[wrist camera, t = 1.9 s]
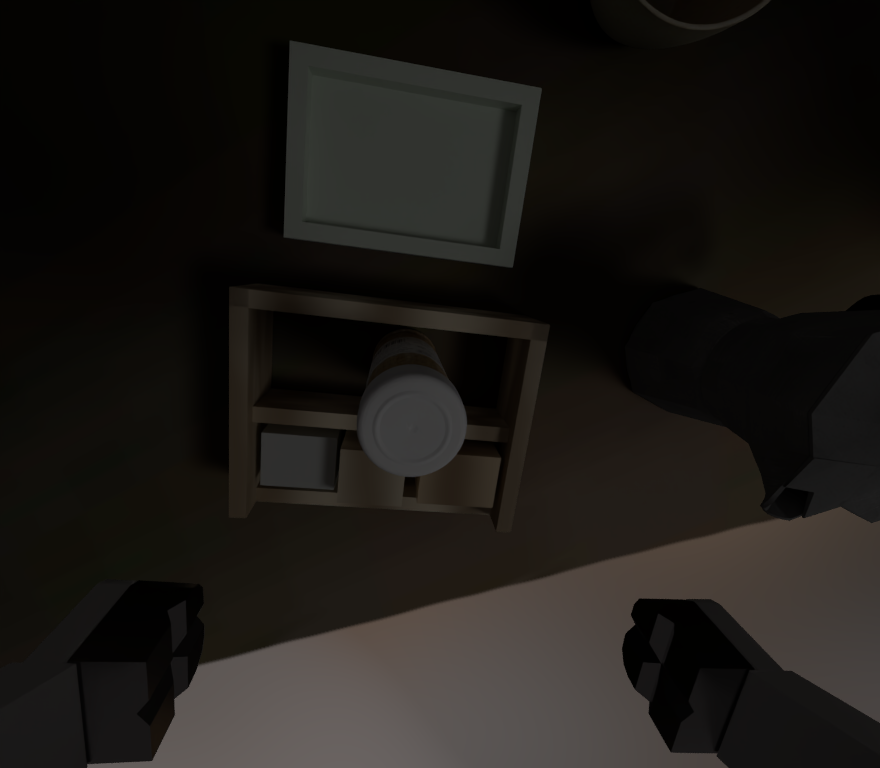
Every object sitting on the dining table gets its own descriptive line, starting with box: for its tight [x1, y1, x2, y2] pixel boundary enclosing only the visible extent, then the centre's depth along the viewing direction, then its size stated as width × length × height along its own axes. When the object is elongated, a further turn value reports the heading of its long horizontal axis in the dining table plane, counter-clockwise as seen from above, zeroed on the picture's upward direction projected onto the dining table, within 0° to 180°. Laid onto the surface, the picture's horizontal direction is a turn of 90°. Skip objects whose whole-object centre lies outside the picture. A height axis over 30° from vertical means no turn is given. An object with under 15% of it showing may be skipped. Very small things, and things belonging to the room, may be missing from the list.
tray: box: [284, 41, 542, 268], centre depth 26 cm, size 14×10×2 cm
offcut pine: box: [337, 430, 405, 507], centre depth 29 cm, size 4×4×6 cm
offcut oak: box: [415, 439, 501, 508], centre depth 30 cm, size 5×4×5 cm
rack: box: [229, 283, 550, 532], centre depth 28 cm, size 18×14×5 cm
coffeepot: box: [625, 288, 880, 523], centre depth 23 cm, size 15×9×18 cm, turn 129°
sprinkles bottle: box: [357, 329, 467, 477], centre depth 24 cm, size 5×5×13 cm
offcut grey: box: [260, 423, 344, 490], centre depth 29 cm, size 5×4×4 cm
